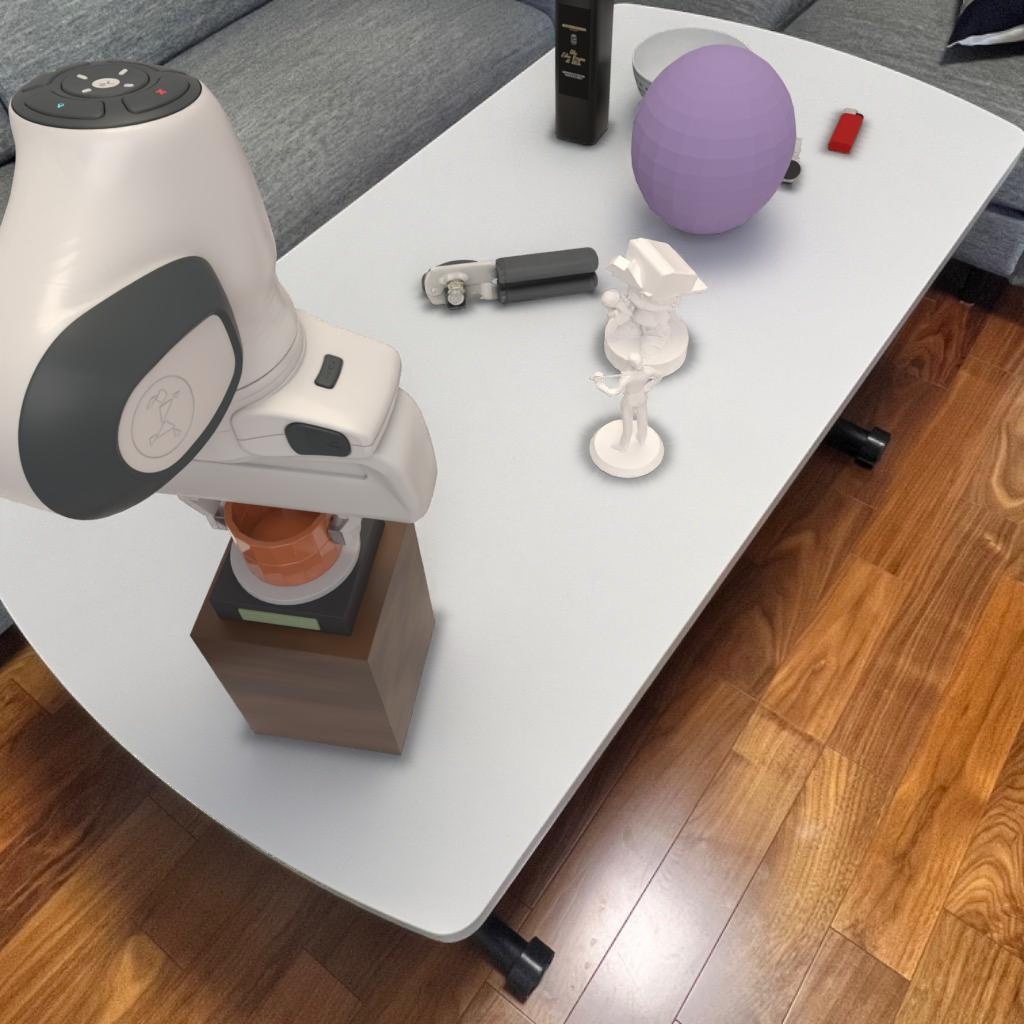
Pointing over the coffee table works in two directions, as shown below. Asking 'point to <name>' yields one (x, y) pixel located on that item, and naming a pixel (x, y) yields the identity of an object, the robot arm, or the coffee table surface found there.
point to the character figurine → (648, 306)
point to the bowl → (282, 542)
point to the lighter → (846, 131)
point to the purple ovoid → (713, 139)
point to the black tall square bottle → (582, 68)
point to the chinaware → (672, 50)
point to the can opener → (513, 277)
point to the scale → (301, 590)
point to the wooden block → (333, 659)
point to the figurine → (628, 425)
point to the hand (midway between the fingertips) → (288, 529)
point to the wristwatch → (794, 164)
